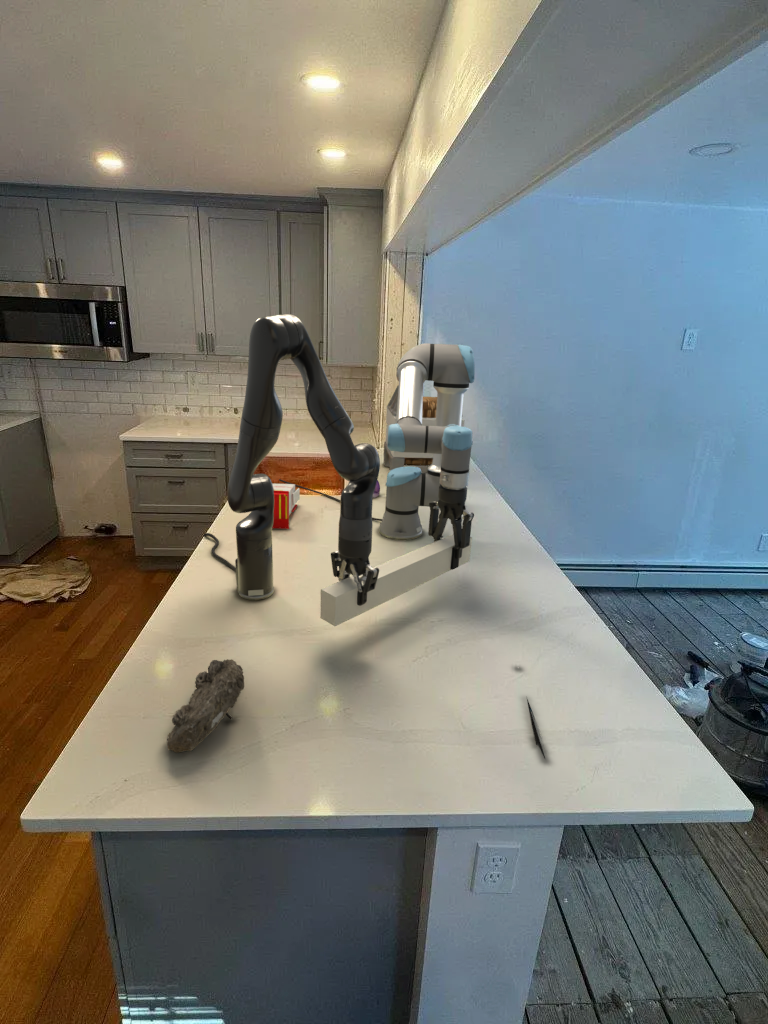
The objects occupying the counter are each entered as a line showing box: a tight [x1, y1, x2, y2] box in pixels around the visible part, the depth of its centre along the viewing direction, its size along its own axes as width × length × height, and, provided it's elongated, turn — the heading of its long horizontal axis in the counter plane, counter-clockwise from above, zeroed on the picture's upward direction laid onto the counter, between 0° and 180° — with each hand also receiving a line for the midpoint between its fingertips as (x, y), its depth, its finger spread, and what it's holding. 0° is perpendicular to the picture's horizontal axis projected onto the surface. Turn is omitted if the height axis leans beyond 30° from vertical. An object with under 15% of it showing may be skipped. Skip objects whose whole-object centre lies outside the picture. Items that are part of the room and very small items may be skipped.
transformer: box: [383, 384, 465, 472], centre depth 268 cm, size 34×33×41 cm
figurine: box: [372, 479, 381, 499], centre depth 236 cm, size 9×10×15 cm
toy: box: [272, 483, 301, 530], centre depth 210 cm, size 12×13×30 cm
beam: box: [319, 534, 473, 627], centre depth 145 cm, size 52×5×8 cm, turn 137°
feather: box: [517, 666, 549, 759], centre depth 114 cm, size 2×28×2 cm
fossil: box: [166, 658, 245, 754], centre depth 106 cm, size 22×10×15 cm
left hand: (352, 599), depth 133 cm, fingers closed on beam, 5 cm apart
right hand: (446, 564), depth 159 cm, fingers closed on beam, 5 cm apart
